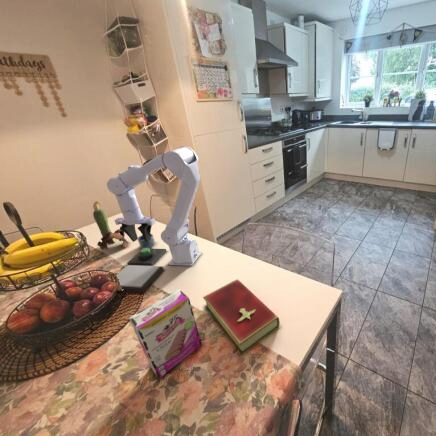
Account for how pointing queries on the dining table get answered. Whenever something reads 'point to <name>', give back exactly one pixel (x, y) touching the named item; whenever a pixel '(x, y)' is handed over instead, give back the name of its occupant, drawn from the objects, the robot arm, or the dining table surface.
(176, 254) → the robot arm
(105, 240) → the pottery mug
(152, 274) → the scale
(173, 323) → the candy bar box
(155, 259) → the block
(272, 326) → the hardcover book
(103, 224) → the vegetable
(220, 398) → the dining table surface
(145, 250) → the button
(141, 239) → the cup
